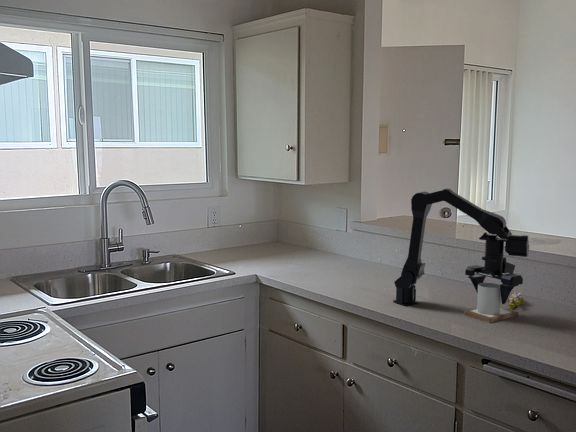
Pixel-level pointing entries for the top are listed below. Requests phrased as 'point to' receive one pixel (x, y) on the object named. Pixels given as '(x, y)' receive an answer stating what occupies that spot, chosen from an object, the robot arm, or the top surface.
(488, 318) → the wooden picture frame
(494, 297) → the cup
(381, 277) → the top surface
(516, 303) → the toy
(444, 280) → the top surface
